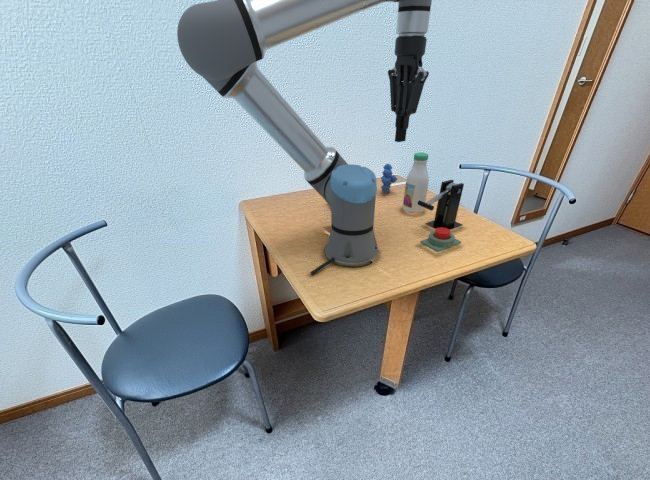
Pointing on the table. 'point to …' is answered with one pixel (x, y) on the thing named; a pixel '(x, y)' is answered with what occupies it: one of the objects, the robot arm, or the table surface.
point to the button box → (440, 242)
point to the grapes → (387, 178)
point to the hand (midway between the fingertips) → (400, 141)
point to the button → (442, 233)
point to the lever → (436, 198)
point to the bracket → (448, 207)
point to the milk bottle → (416, 184)
